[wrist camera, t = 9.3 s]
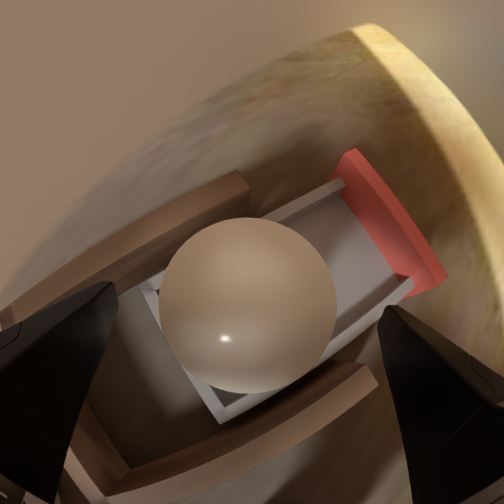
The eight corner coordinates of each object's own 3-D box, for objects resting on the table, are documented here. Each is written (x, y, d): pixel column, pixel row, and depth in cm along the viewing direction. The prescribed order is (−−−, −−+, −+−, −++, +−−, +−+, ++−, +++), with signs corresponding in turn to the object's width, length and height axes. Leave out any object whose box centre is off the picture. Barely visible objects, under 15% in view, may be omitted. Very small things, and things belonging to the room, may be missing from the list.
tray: (412, 290, 20) (447, 275, 16) (226, 422, 16) (224, 444, 12) (336, 180, 22) (355, 147, 18) (145, 284, 19) (122, 267, 14)
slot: (345, 377, 18) (378, 384, 13) (127, 489, 14) (103, 518, 9) (235, 207, 21) (237, 169, 16) (38, 322, 17) (-2, 313, 12)
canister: (296, 336, 17) (367, 328, 8) (225, 379, 16) (217, 425, 7) (253, 268, 19) (276, 191, 9) (183, 308, 18) (129, 269, 8)
